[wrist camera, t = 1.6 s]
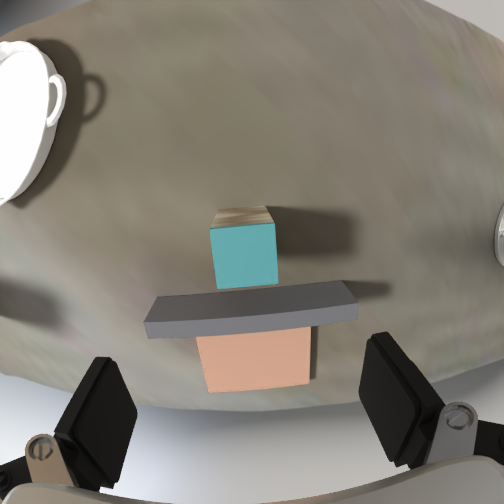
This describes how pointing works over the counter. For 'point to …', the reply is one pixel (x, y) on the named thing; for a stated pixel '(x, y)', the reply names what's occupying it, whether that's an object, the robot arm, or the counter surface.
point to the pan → (26, 114)
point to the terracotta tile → (256, 360)
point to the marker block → (244, 247)
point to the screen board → (251, 311)
